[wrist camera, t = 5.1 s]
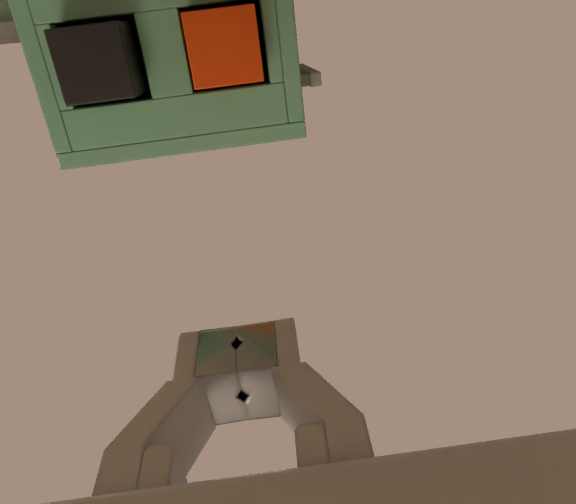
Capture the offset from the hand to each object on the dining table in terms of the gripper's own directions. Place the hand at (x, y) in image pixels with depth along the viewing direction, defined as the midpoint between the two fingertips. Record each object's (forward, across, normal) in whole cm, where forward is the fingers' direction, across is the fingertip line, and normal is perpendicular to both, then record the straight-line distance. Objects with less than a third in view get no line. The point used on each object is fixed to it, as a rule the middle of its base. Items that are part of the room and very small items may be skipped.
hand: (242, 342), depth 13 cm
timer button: (+14, +5, -6) cm, 16 cm away
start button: (+14, 0, -6) cm, 15 cm away
